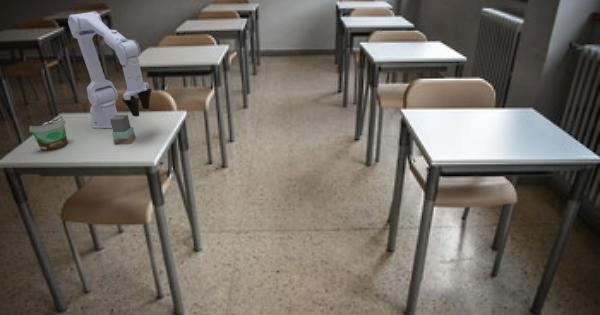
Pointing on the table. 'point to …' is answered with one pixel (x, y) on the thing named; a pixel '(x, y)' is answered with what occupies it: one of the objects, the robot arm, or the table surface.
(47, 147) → the food container
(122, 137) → the teal slab
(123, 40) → the robot arm
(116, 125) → the charcoal block
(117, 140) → the walnut slab
